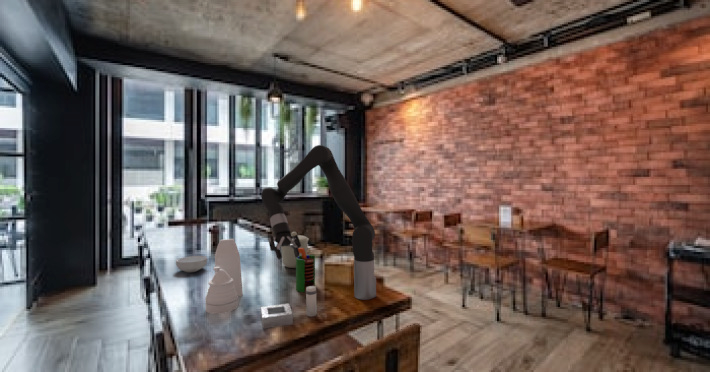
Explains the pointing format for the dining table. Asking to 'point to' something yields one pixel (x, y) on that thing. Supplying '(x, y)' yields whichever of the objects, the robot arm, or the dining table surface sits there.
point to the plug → (311, 301)
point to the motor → (305, 271)
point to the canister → (288, 252)
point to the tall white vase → (230, 262)
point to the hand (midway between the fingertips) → (289, 257)
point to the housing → (276, 315)
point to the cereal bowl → (191, 263)
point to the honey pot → (221, 293)
